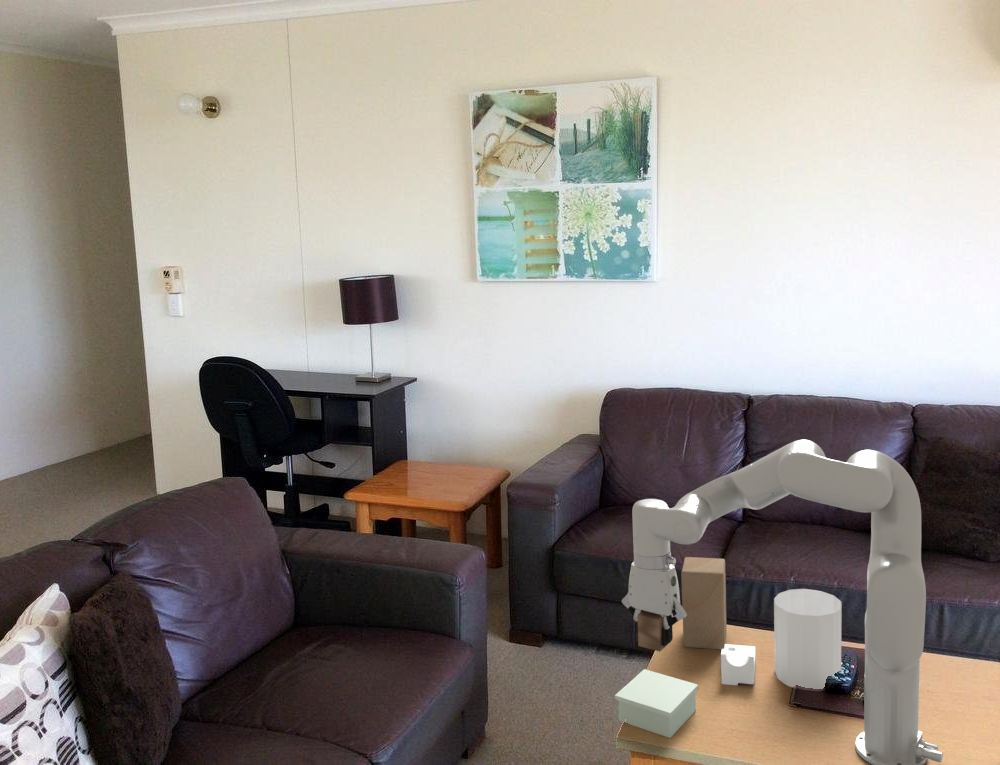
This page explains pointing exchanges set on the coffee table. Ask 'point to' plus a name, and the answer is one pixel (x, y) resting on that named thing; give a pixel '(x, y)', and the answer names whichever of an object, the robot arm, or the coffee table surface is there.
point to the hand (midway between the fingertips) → (654, 639)
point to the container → (807, 637)
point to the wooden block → (704, 602)
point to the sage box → (657, 702)
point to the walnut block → (650, 631)
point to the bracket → (738, 664)
